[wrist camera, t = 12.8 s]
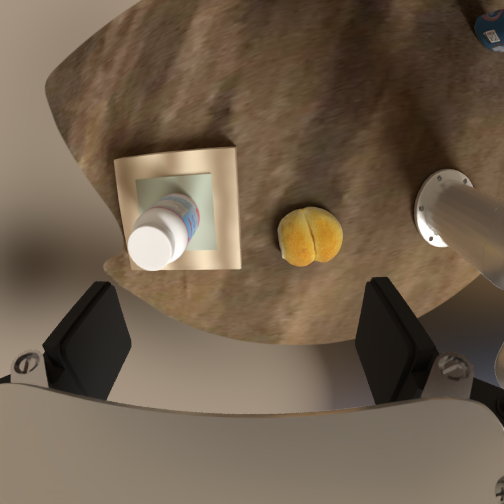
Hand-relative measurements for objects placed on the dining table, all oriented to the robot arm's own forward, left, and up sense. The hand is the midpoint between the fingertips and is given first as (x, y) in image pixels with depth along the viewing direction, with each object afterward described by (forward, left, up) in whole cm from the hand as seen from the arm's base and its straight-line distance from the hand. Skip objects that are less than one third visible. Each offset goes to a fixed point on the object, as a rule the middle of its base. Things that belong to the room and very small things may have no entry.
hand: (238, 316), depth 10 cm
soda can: (-40, -28, -31) cm, 58 cm away
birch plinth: (+10, +4, -30) cm, 32 cm away
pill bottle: (+10, +4, -27) cm, 29 cm away
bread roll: (-8, +9, -31) cm, 33 cm away
